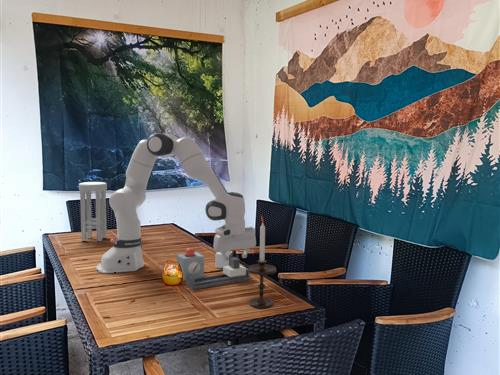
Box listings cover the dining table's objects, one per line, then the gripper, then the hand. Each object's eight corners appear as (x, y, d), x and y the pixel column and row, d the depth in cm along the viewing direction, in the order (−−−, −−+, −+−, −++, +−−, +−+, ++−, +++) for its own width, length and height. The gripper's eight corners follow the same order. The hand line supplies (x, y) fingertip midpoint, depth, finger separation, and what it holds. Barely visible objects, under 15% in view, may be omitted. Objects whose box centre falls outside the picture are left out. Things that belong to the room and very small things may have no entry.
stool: (102, 243, 262) (101, 184, 258) (76, 242, 262) (74, 184, 258) (111, 237, 277) (109, 182, 273) (86, 236, 277) (85, 181, 273)
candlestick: (254, 311, 163) (255, 218, 159) (242, 301, 173) (244, 213, 169) (280, 307, 167) (282, 216, 163) (267, 297, 177) (269, 211, 173)
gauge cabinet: (184, 281, 195) (184, 259, 194) (176, 275, 203) (176, 254, 202) (204, 277, 201) (204, 256, 199) (196, 272, 208) (196, 251, 207)
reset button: (187, 260, 199) (187, 250, 198) (184, 258, 202) (184, 248, 202) (196, 259, 201) (196, 249, 200) (192, 256, 204) (192, 247, 204)
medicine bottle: (229, 269, 215) (229, 244, 213) (215, 267, 216) (215, 244, 215) (232, 264, 222) (232, 241, 220) (219, 263, 223) (219, 240, 222)
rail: (192, 289, 185) (192, 279, 184) (185, 284, 192) (185, 274, 191) (250, 279, 199) (250, 270, 198) (241, 274, 206) (241, 265, 205)
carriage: (230, 277, 194) (230, 261, 193) (223, 272, 200) (223, 257, 199) (245, 274, 198) (246, 259, 197) (238, 270, 204) (238, 255, 203)
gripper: (251, 225, 205) (251, 254, 206) (211, 229, 194) (212, 260, 196) (258, 227, 199) (258, 257, 201) (218, 232, 189) (218, 263, 190)
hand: (235, 259), depth 198 cm, fingers open, 8 cm apart
